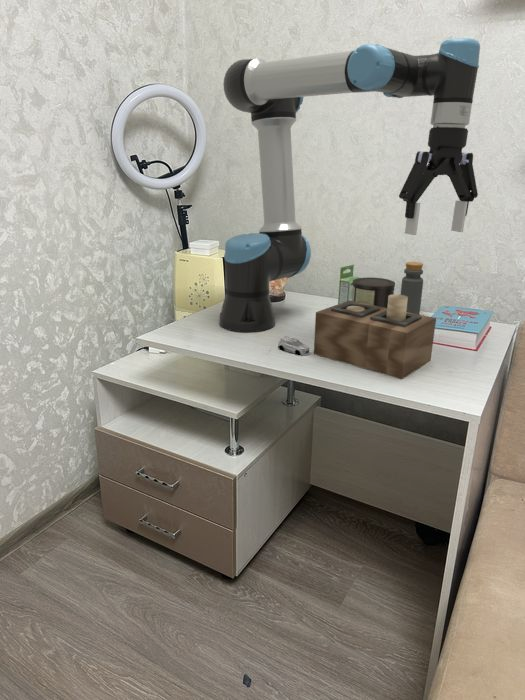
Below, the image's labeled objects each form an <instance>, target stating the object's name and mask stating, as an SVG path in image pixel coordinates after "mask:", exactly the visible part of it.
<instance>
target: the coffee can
mask: <svg viewBox="0 0 525 700" xmlns="http://www.w3.org/2000/svg"><path fill="white" fill-rule="evenodd" d="M395 286H396V282H395V281H394V280H391V279H387V278H383V277H372V276H371V277H368V276H367V277H360V278H357V279H354V280H353V292H352V301H355V302H360V303H365V304H370V305H375V306H379V307H384V308H387V306H388V296H389V295H394V294H395V293H394V292H395Z"/></svg>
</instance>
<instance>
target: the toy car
mask: <svg viewBox="0 0 525 700" xmlns="http://www.w3.org/2000/svg"><path fill="white" fill-rule="evenodd" d="M277 348H278V349H279V351H286V352H288V353H292V354H295V356H307V355H309V354H311V351H310V347H309V346H308V345H307V344H305V343H303V342H302V341H300V340H299V339H298V338H295V337H289V336H287V335H284V336H282V337H281V338H280V340H279V342H278V343H277Z"/></svg>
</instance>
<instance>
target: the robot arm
mask: <svg viewBox="0 0 525 700" xmlns="http://www.w3.org/2000/svg"><path fill="white" fill-rule="evenodd" d="M480 53H481V45H480V42H479V40H476V39H475V38H469V37H455V38H450V39H445V40H443V41H442V42H441V44H440V47H439V50H438V52H437V53H433V54H424V55H421V54H420V55H412V54H408V53H405V52H402V51H398V50H396V49H392V48H389V47H386V46H383V45H382V44H378V43H376V44H374V43H364V44H362V45H360V46H358V47H357V48H356V49H355V50H347V51H340V52H333V53H331V52H330V53H324V54H318V55H317V54H315V55H311V56H310V55H309V56H304V57H295V58H289V59H281V60H274V61H265V59H262V58H258V57H257V58H249V59H248V58H247V59H245V58H243V59H239V60H236V61H234V62H233V64H231V65H230V66H229V67H228V68H227V70H226V72H225V75H224V78H223V92H224V95H225V98H226V99H227V101H228V102H229V104H230V105H231V106H232V107H233V108H235V109H236V110H238V111H241V112H244V113H248V114H249V113H250V118H251V119H250V120H251V125H252V126H253V127H254V128H256V130H257V136H258V137H257V138H258V150H259V152H258V153H259V165H260V181H261V195H262V196H261V197H262V209H263V211H262V212H263V222H264V224H262V225H261V226H262V227H261V228H260V229H259V230H258V232H259V233H256V232H255V233H253V232H251V233H247V234H246V233H241V234H238V235H234V236H232V237H230V238H229V239H228V240H227V241H226V243H225V245H224V247H225V248H224V254H223V257H224V277H225V278H224V280H225V281H224V283H225V286H224V287H225V290H224V291H225V295H224V299H223V303H222V307H221V312H220V313H219V316H218V317H219V319H218V321H219V326H220V327H221V328H223V329H225V330H229V331H234V332H241V333H242V332H243V333H246V332H247V333H249V332H250V333H251V332H252V333H253V332H255V333H256V332H260V331H261V332H262V331H266V330H270V329H272V328H273V327H275V325H276V314H275V312H274V309H273V304H272V301H271V297H270V282H273V281H276V280H282V279H285V278H288V279H290V278H291V277H292V278H293V277H294V276H296V275H299V274H301V273H302V272H304V271H305V270H306V268H307V267H308V266H309V264H310V261H311V257H312V250H311V249H312V248H311V245H310V242H309V241H308V240H307V238H306V236H304V235H302V234H303V233H302V227H301V226H300V225H299V224H298V222H297V221H296V207H295V186H294V169H293V148H292V132H291V128H292V127H293V125H294V124H295V122H296V121H297V113H298V111H299V110H300V109H301V105H302V104H303V102H304V97H315V96H327V95H340V94H341V95H342V94H350V93H353V94H354V93H356V94H357V93H371V92H377V93H383V96H385V97H387V98H397V99H403V98H407V97H408V98H410V97H411V98H412V97H421V96H422V97H424V96H426V97H427V96H430V97H431V96H433V102H432V108H431V109H432V110H431V116H430V125H431V126H432V127H431V128H430V129H429V133H428V141H427V146H428V147H429V150H428V151H422V150H421V151H420V150H419V151H417V152H416V153H415V158H414V163H413V165H412V167H411V170H410V171H409V174H408V175H407V178H406V180H405V182H404V184H403V186H402V188H401V190H400V192H399V195H398V196H399V197H398V198H399V199H401V200H403V201H404V202H406V203H405V204H406V205H405V214H404V217H405V219H406V221H405V230H404V234H406V235H411V236H417V235H418V234H417V231H418V224H419V217H420V210H421V209H420V208H421V202H418V201H419V199H420V198H421V197H422V196H423V195H424V193H425V191H426V190H427V189H428V187H429V186H430V185H431V183H432V182H433V181H434V180H435V178H437V177H438V176H447V177H449V179H450V182H451V184H452V186H453V189H454V191H455V193H456V195H457V197H458V200H455V202H454V203H455V205H454V210H453V214H452V215H453V216H452V222H451V227H450V228H451V231H452V232H456V233H457V232H459V233H463V232H464V229H465V228H464V227H465V223H466V222H465V221H466V217H467V215H468V210H469V206H470V205H469V204H470V202H473V201H475V199H476V198H477V197H478V195H479V194H478V188H477V181H476V175H475V172H474V170H475V169H474V165H473V161H474V153H473V152H463V149H464V148H465V147H466V146H467V141H468V136H469V129H468V127H467V128H466V126H468V125H470V121H471V113H472V106H473V102H474V94H475V93H474V92H475V88H476V82H477V78H478V77H477V75H478V70H479V69H480V65H479V62H480Z"/></svg>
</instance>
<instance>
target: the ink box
mask: <svg viewBox="0 0 525 700" xmlns="http://www.w3.org/2000/svg"><path fill="white" fill-rule="evenodd" d="M354 266H355V264H351V265H350V264H349V265H346V266H342V267H340V270H339V281H338V282H339V283H338V284H339V286H338V297H337V298H338V300H337V305H338V304H340V303H343V302H346V301H349V300H350V301H352V292H353V280H354V279H357V278H361V277H359V276H354ZM346 270H350V271H348V272H345V271H346ZM344 272H345V273H344Z"/></svg>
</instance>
